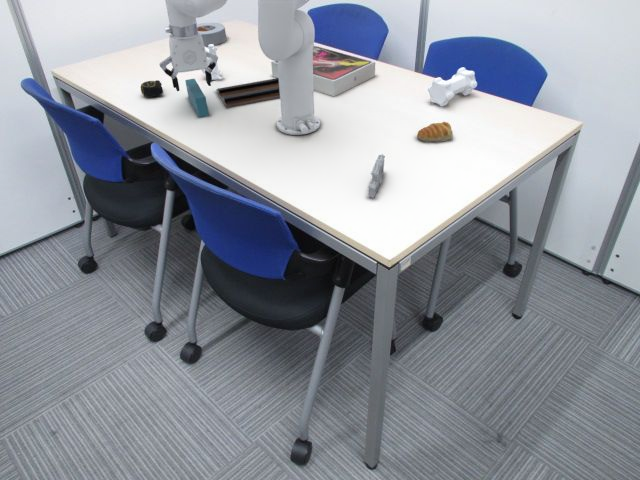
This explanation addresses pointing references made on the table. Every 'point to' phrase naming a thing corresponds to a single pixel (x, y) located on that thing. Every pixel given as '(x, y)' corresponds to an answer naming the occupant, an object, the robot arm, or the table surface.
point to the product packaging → (336, 71)
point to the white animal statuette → (215, 71)
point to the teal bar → (197, 98)
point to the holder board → (249, 92)
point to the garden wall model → (376, 175)
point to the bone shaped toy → (452, 86)
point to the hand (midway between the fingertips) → (193, 86)
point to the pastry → (436, 132)
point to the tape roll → (212, 33)
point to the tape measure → (151, 88)
